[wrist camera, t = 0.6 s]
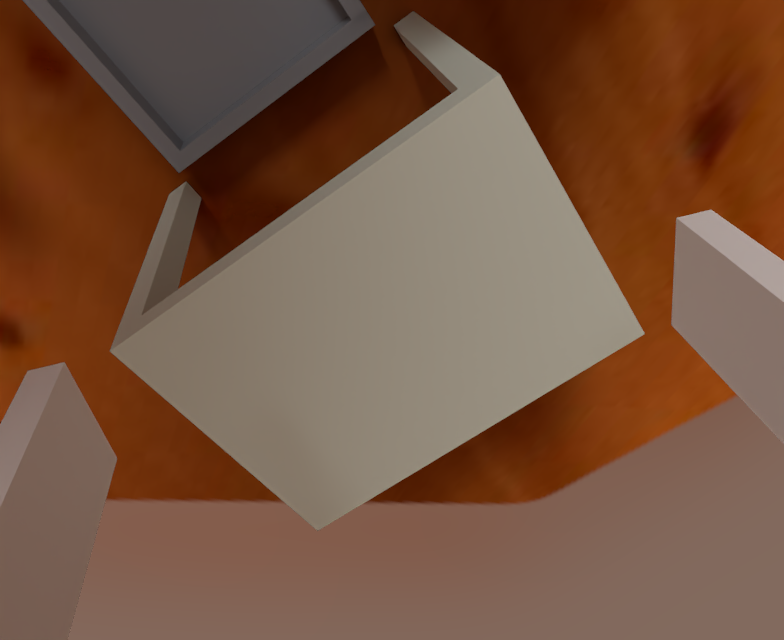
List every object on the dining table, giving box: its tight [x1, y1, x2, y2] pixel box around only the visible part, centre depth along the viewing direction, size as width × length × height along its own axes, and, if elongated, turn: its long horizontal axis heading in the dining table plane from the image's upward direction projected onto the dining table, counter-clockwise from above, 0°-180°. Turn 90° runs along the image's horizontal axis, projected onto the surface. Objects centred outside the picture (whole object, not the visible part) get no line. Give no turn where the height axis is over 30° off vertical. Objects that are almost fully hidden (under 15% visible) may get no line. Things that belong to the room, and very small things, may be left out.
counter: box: [110, 11, 645, 531], centre depth 32 cm, size 12×16×16 cm
